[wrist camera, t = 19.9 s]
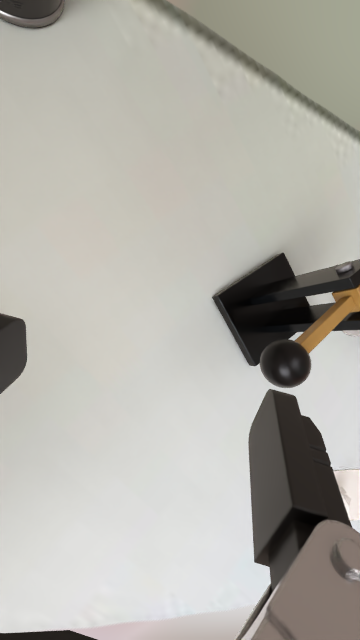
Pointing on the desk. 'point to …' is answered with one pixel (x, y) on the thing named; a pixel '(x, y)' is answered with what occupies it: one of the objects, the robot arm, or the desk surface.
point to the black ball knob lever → (305, 343)
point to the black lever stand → (281, 303)
